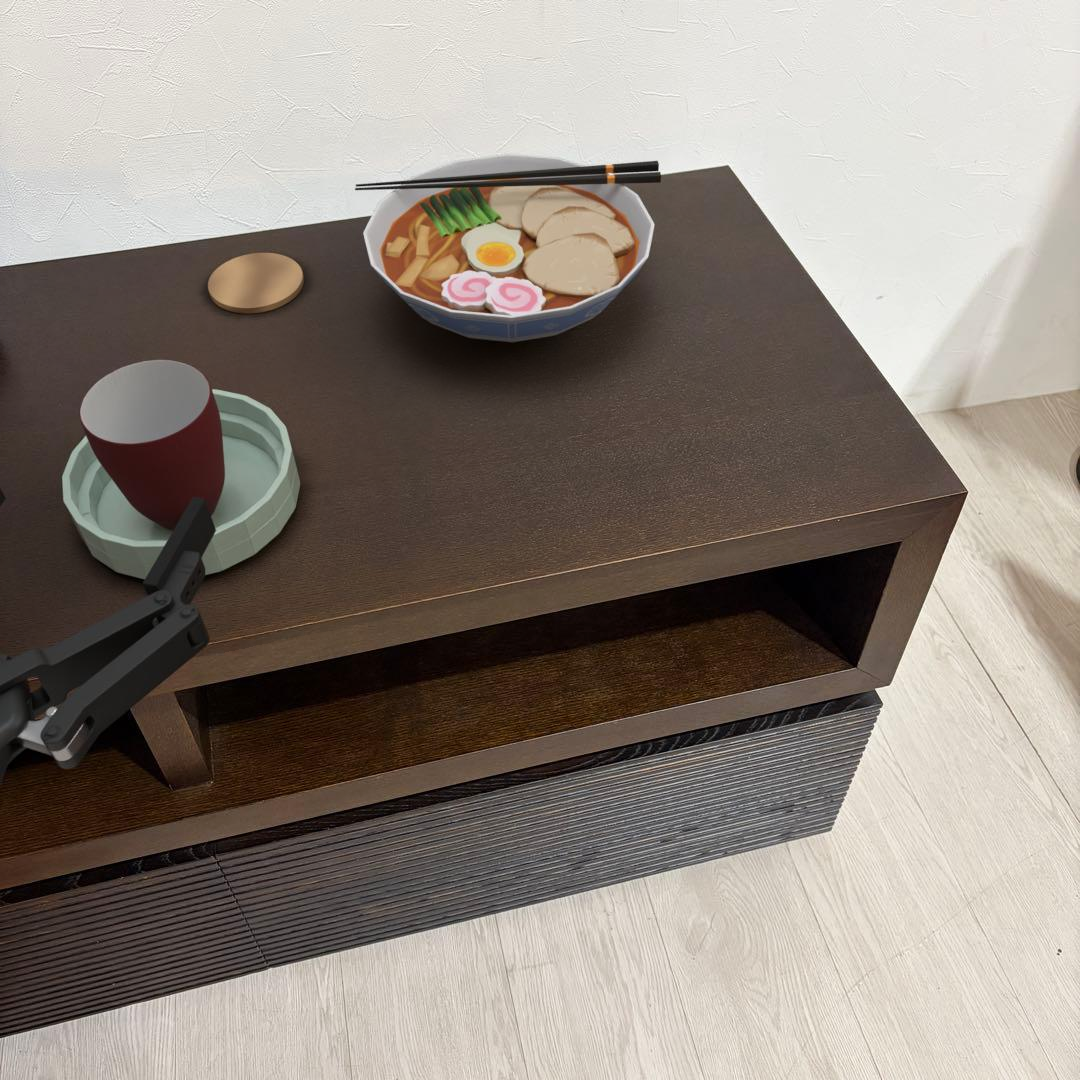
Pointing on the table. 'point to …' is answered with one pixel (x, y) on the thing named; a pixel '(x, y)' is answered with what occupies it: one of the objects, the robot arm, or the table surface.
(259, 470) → the serving bowl
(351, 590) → the table surface
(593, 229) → the ramen bowl
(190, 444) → the mug
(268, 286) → the coaster
